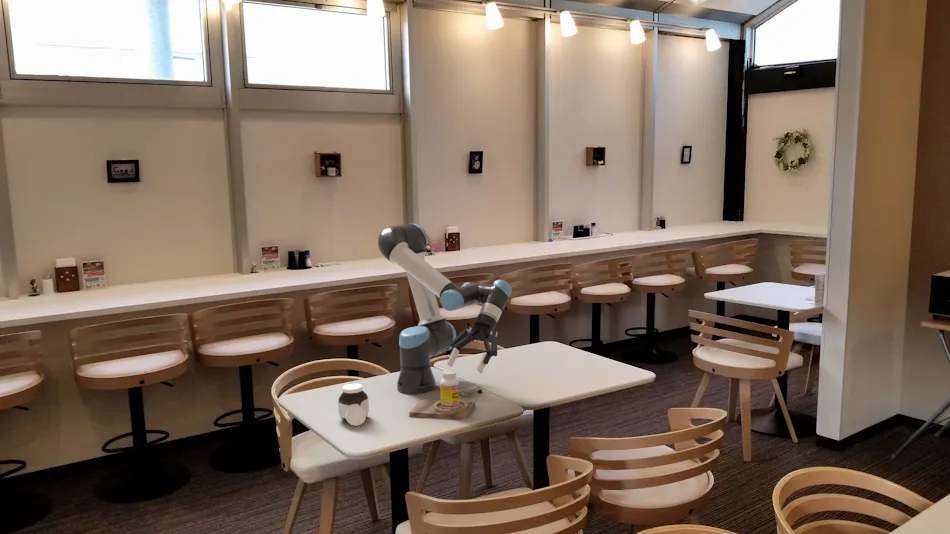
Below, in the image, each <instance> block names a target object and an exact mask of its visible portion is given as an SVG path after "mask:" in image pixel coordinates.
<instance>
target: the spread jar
mask: <svg viewBox="0 0 950 534" xmlns="http://www.w3.org/2000/svg"><path fill="white" fill-rule="evenodd" d="M369 402H370V401H369V396H368V394H367V393H366V392H365V391H364V389H363V385H362V384H361V383H348V384H344V385H343V386H342V393H341V394H340V395H339V397H338V401H337V406H338V408H337V409H338V414H339V417H340V419H342V420H343V421H344V422H346V421H347V423H348V424H349V425H351V426H353V425H354V427H357V426H360V425H362V424H363V423H364V422H365V421H366V418H367V416H368V414H369V411H370V410H369V409H370V406H369Z"/></svg>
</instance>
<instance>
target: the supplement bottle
mask: <svg viewBox="0 0 950 534" xmlns="http://www.w3.org/2000/svg"><path fill="white" fill-rule="evenodd" d="M456 376H457V370H453V369H451V370H450V369H448V370H443V371H442V377H443V378H442V379H441V380H440V382H439V383H440V400H441V407H442V408H443V409H446V410H452V409H457V408H459V407H460V400H461V399H460V398H461V397H460V396H461V395H460V394H461V393H460V380H459V379H458V378H457V377H456Z"/></svg>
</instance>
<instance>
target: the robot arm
mask: <svg viewBox="0 0 950 534" xmlns="http://www.w3.org/2000/svg"><path fill="white" fill-rule="evenodd" d="M428 236H429V235H428V233H427V232H426V229H425V228H424V227H423V226H421V225H419V224H417V223H405V224H398V225H390V226H387V227H385V228H384V229H382V230H381V232H380V233H379V234H378V237H377V247H378V250H379V251H380V253H381V254H382V256H383V257H384V258H386V260H387V261H389V262H390V263H392V264H396V265H398V266H400V268H401V269H403V270H404V271H405V272H406V277H407V280H408V283H409V287H410V290H411V293H412V297H413V300H414V304H415V307H416V310H417V313H418V317H419V322H418V325H417V326H416V325H415V326H411V327H407V328H405V329H403V330H401V332H400V333H399V337H398V339H399V341H398V346H399V362H400V371H399V375H398V378H397V383H396V390H397V391H398V392H400V393H403V394H409V395H410V394H413V395H414V394H415V395H416V394H424V393H429V392H432V391H434V390H435V389H436V387H437V381H436V379H435V376H434V373H433V371H432V367H431V366H432V365H431V358H432V357H434V356H438V355H440V354H445V353H447V352H448V351H450V350H451V351H450V353H449V358H448V360H447V362H446V364H447V365H448V366H449V368H450V367H451V368H453V366H454V364H455V361H456V359H457V358H458V355H459V354H460V351H459V350H461V349H462V348H464V347H465V346H466V345H468V344H470V343H471V342H474V341H477V342H481V343H482V342H483V345H484V349H485V353H483V354H482V356H481V359H480V361H479V363H478V365H477V367H476V370H477V371H478V373H480V374H482V373H483V371H484V369H485V367H486V365H489V362H490V360H491V358H492V357H497V356H498V337H499V333H498V331H497V329H496V325H497V324H498V321H499V319H500V317H501V315H502V313H503V310H504V309H505V306H506V304H507V303H508V301H509V299H510V297H511V293H512V291H513V289H512V288H513V287H512V286H511V285H510V283H509V282H507V281H505V280H503V279H497V280H496V279H495V281H493V283H492V285H491V284H483V283H478V282H473V281H470V282H469V281H468V282H467V281H466V282H464V283H463V284H462V285H461V286H460V287H459V286H458V285H456V284H455V283H454V282H452V281H451V280H450V279H448V278H447V277H446V276H445V275H444V274H443V273H441V272H440V271H438V270H437V269H436V268H434V266H432V265H431V264H429V263H428V262H427V261H426V260H425V256H426V255H427V250H426V248H427V246H428V243H429V237H428ZM437 297H438V298H439V302H440V304H441V306H442V308H443V309H444V310H446V311H450V312H453V311H458V310H460V309H462V308H463V309H464V308H466V307H470V306H473V305H477V304H480V305H482V307H481V308H480V311H479V314H478V315H477V317H476V319H475V320H474V325H473V327H471V326H469V325H465V328H463V330H462V331H461V332H460V333H459V334H458V335H457V332H456V329H455V327H454V326H453V325H452V324H451V323H450V322H448V321H447V319H446V317H445V316H444V315H442V313H441V311H440V307H439V305H438V301H437ZM489 337H491V338H490V340H489Z"/></svg>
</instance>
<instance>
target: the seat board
mask: <svg viewBox="0 0 950 534" xmlns="http://www.w3.org/2000/svg"><path fill="white" fill-rule="evenodd" d="M474 406H475V407H476V401H466V400H462V399H460V407H459V408H457V409H452V410H446V409H443V408H442V407H441V399H425V398H424V399H421V400H420V401H419V402H418V403H416V404H415V406H413V408H412V409H411V410H410V411H409V412H408V416H409V417H411V416H413V418H414V416H415V417H416V418H428V417H432V418H431V419H446V418H447V419H448V420H449V419H450V420H462V419H465V418H466V419H467V417H468V416H469V415H470V413H471V412H472V411H471V410H474V408H475V407H474ZM470 411H471V412H470ZM468 414H469V415H468ZM466 419H465V420H466Z"/></svg>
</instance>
